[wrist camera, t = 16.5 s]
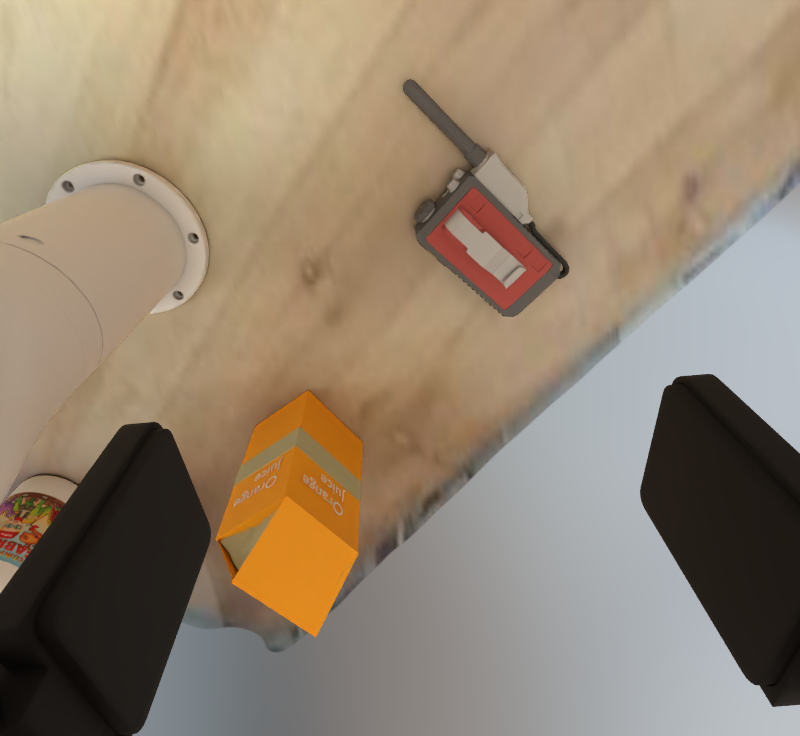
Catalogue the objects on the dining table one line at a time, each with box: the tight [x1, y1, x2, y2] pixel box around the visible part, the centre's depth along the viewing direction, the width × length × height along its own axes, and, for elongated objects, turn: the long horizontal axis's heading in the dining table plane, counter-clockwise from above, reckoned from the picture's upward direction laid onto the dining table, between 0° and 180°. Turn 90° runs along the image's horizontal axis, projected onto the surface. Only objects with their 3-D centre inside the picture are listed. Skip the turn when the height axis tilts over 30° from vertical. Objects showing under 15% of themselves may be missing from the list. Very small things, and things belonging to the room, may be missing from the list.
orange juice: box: [216, 390, 363, 637], centre depth 44 cm, size 8×9×20 cm
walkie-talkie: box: [403, 79, 569, 317], centre depth 39 cm, size 9×4×20 cm
